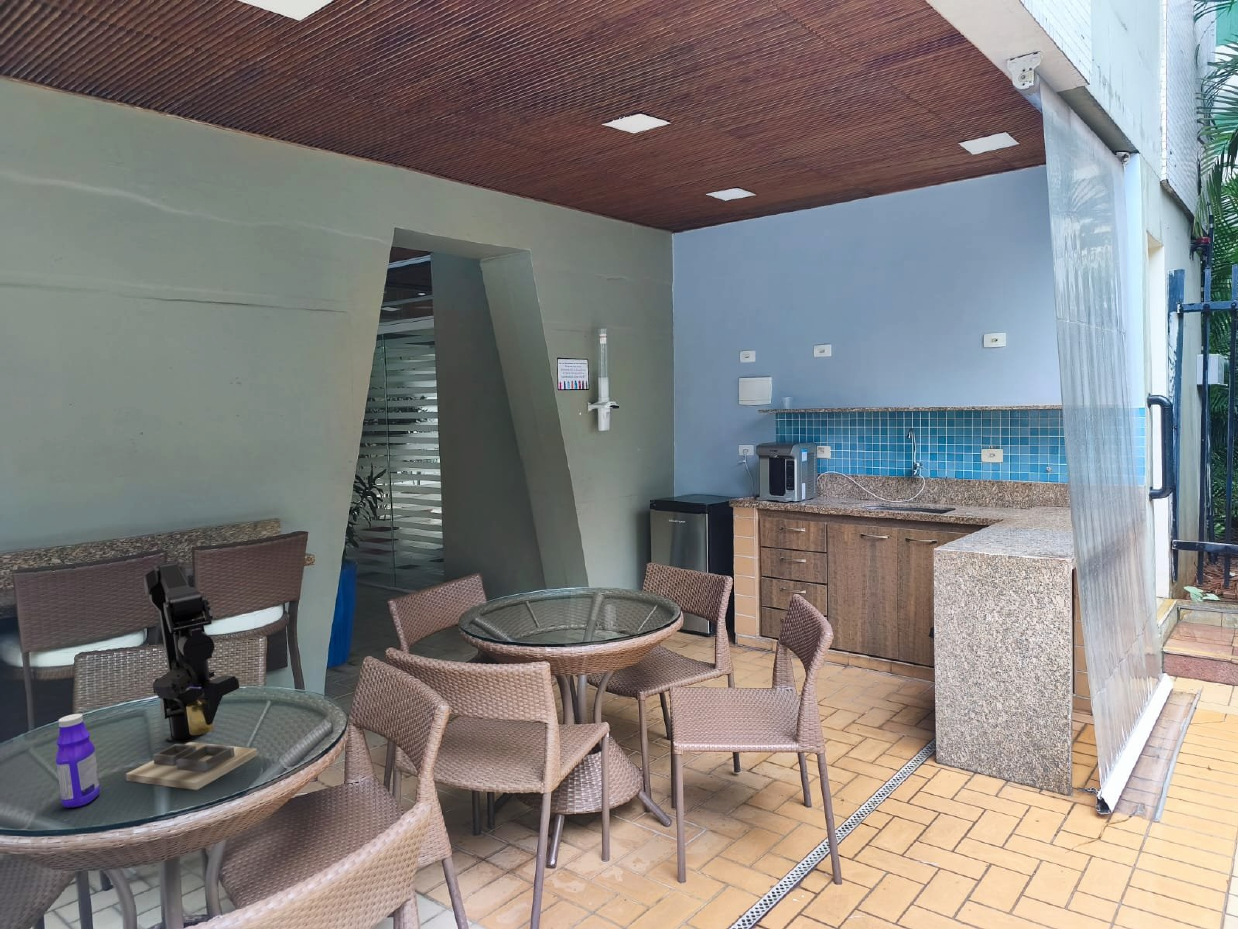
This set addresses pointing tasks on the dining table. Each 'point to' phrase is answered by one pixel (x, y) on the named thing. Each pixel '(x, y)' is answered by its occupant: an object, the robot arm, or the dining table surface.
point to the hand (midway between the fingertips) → (201, 723)
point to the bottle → (76, 763)
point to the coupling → (197, 719)
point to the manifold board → (191, 765)
